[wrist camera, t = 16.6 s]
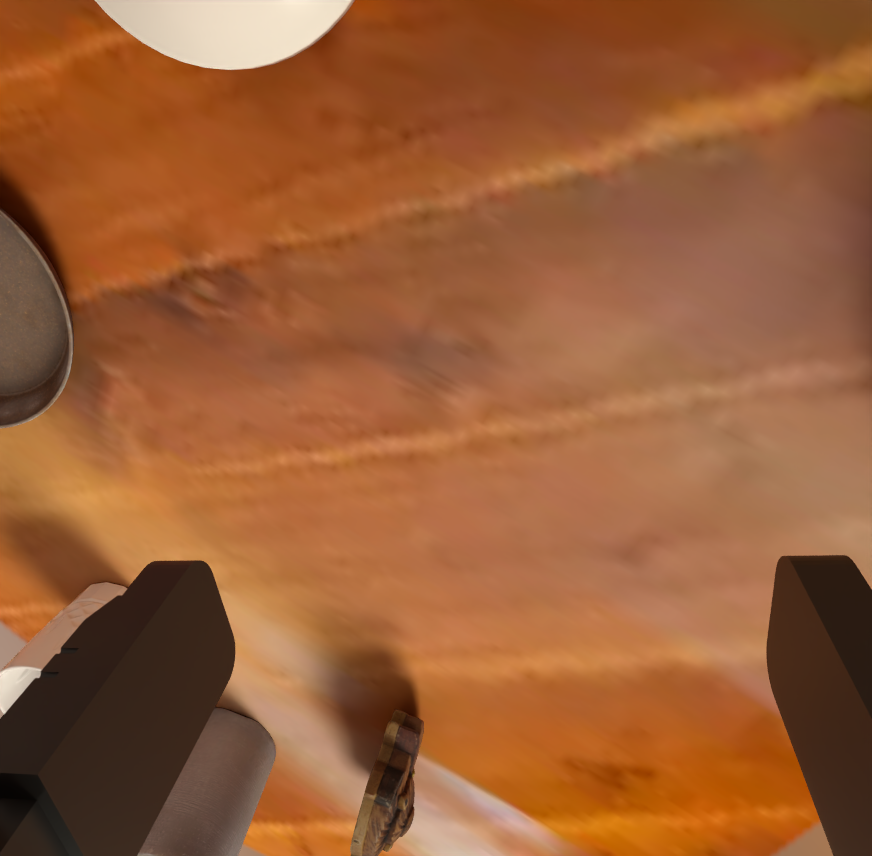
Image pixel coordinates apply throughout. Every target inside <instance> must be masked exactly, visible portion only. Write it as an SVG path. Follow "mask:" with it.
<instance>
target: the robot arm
mask: <svg viewBox="0 0 872 856" xmlns="http://www.w3.org/2000/svg"><path fill="white" fill-rule="evenodd" d="M234 661H235V641H234V636H233V633H232V630H231V627H230V624H229V621H228V618H227V615H226V612H225V609H224V606H223V603H222V600H221V597H220V594H219V591H218V588H217V585H216V582H215V579H214V576H213V573H212V571H211V568H210V567H209V565H208V564H207V563H205V562H204V561H154V562H151V563H150V564H148V565H147V566H146V567H145V568H144V569H143V570H142V572H141V573H140V574H139V575H138V576H137V578H136V579H135V580H134V581H133V583H132V584H131V585H130V586H129V587H128V589H127V590H126V591H125V592H124V594H123V595H117V596H116V597H115V598H113V599H112V600H111V601H109V602H108V603H107V604H105V605H104V606H102V607H101V608H100V609H98V610H97V611H96V612H94V613H93V614H92V615H90V616H89V617H87V618H86V619H85V620H84V621H83V622H82V623H81V624H80V626H79V627H78V628H77V629H76V630H75V632H74V633H73V634H72V635H71V636H70V637H69V639H68V640H67V641H66V642H65V643H64V644H63V646H62V647H61V652H60V654H55V655H54V656H53V657H52V659H51V660H50V661H49V662H48V663H47V664H46V666H45V667H44V668H43V669H42V670H41V675H40V677H39V678H35V679H34V680H33V681H32V682H31V683H30V684H29V686H28V687H27V688H26V689H25V690H24V692H23V693H22V694H21V695H20V696H19V697H18V699H17V700H16V701H15V702H14V703H13V704H12V706H11V707H10V708H9V709H8V710H7V712H6V713H5V714H4V715H3V716H2V717H1V719H0V856H137V855H138V853H139V852H140V850H141V848H142V846H143V844H144V842H145V840H146V838H147V836H148V834H149V832H150V830H151V829H152V827H153V825H154V823H155V821H156V819H157V817H158V815H159V813H160V811H161V809H162V808H163V806H164V804H165V802H166V800H167V798H168V796H169V794H170V792H171V790H172V788H173V787H174V785H175V783H176V781H177V779H178V777H179V775H180V773H181V771H182V769H183V767H184V766H185V764H186V762H187V760H188V758H189V756H190V754H191V752H192V750H193V748H194V746H195V745H196V743H197V741H198V739H199V737H200V735H201V733H202V731H203V729H204V727H205V725H206V723H207V722H208V720H209V718H210V716H211V714H212V712H213V710H214V708H215V706H216V704H217V702H218V701H219V699H220V697H221V695H222V693H223V691H224V689H225V687H226V685H227V683H228V681H229V679H230V677H231V674H232V671H233V667H234ZM767 667H768V674H769V680H770V684H771V688H772V692H773V695H774V698H775V700H776V703H777V706H778V708H779V711H780V714H781V716H782V719H783V722H784V724H785V727H786V730H787V732H788V735H789V738H790V740H791V743H792V746H793V748H794V751H795V754H796V756H797V759H798V762H799V764H800V767H801V770H802V772H803V775H804V778H805V781H806V783H807V786H808V789H809V791H810V794H811V797H812V799H813V802H814V805H815V807H816V810H817V813H818V815H819V818H820V821H821V823H822V826H823V828H824V831H825V834H826V837H827V839H828V842H829V845H830V847H831V850H832V853H833V855H834V856H872V589H871V588H870V586H869V585H868V583H867V582H866V580H865V579H864V577H863V576H862V574H861V572H860V571H859V569H858V568H857V566H856V565H855V563H854V562H853V561H852V560H851V559H850V558H849V557H848V556H845V555H829V556H782V557H781V558H780V559H779V561H778V563H777V567H776V574H775V582H774V590H773V598H772V606H771V614H770V622H769V630H768V638H767Z"/></svg>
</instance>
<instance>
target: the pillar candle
mask: <svg viewBox="0 0 872 856" xmlns="http://www.w3.org/2000/svg"><path fill="white" fill-rule="evenodd" d="M275 756H276V749H275V744H274V742H273V739H272V738H271V737H270V734H269V733H268V732H267V731H266V730H265V729H264V728H263V727H262V725H260V724H259V723H258V722H256V721H254V720H252V719H250V718H246V717H244V716H241V715H239V714H236V713H234V712H231V711H229V710H226V709H223V708H214V710H213V712H212V714H211V716H210V718H209V720H208V722H207V723H206V725H205V727H204V729H203V731H202V733H201V735H200V737H199V739H198V741H197V743H196V745H195V746H194V748H193V750H192V752H191V754H190V756H189V758H188V760H187V762H186V764H185V766H184V767H183V769H182V771H181V773H180V775H179V777H178V779H177V781H176V783H175V785H174V787H173V788H172V790H171V792H170V794H169V796H168V798H167V800H166V802H165V804H164V806H163V808H162V809H161V811H160V813H159V815H158V817H157V819H156V821H155V823H154V825H153V827H152V829H151V830H150V832H149V834H148V836H147V838H146V840H145V842H144V844H143V846H142V848H141V850H140V852H139V853H138V855H137V856H238V855H239V852H240V849H241V847H242V844H243V841H244V839H245V836H246V833H247V831H248V828H249V826H250V823H251V820H252V818H253V815H254V812H255V810H256V807H257V805H258V802H259V799H260V797H261V795H262V792H263V789H264V787H265V784H266V781H267V779H268V776H269V774H270V772H271V769H272V766H273V763H274V760H275Z"/></svg>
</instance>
